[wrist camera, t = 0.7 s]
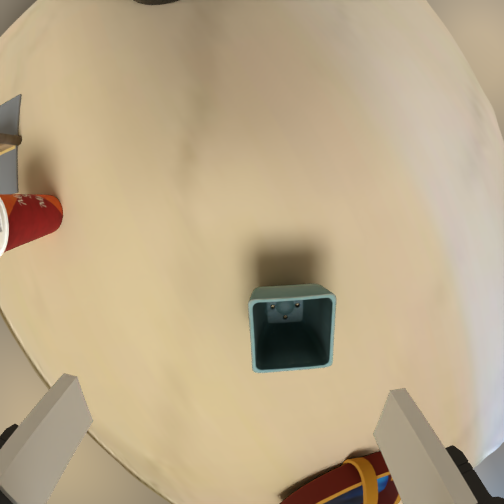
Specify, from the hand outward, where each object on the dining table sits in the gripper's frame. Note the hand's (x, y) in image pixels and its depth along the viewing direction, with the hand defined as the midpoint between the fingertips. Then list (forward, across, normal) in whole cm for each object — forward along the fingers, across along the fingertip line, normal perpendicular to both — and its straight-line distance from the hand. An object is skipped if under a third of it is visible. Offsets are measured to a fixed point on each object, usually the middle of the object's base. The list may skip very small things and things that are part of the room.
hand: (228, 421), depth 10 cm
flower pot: (+27, +5, -6) cm, 28 cm away
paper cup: (+27, -29, +6) cm, 40 cm away
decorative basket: (+27, +23, -55) cm, 66 cm away
